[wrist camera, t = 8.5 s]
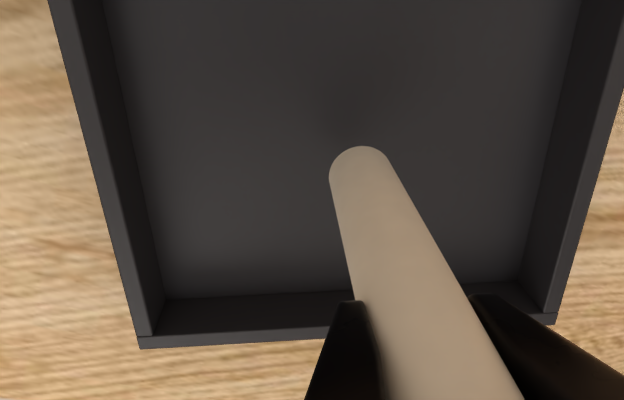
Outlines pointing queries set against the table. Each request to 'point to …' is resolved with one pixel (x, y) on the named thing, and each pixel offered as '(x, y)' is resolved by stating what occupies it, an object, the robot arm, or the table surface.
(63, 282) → the table surface
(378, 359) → the robot arm
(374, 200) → the marker
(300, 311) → the tray
